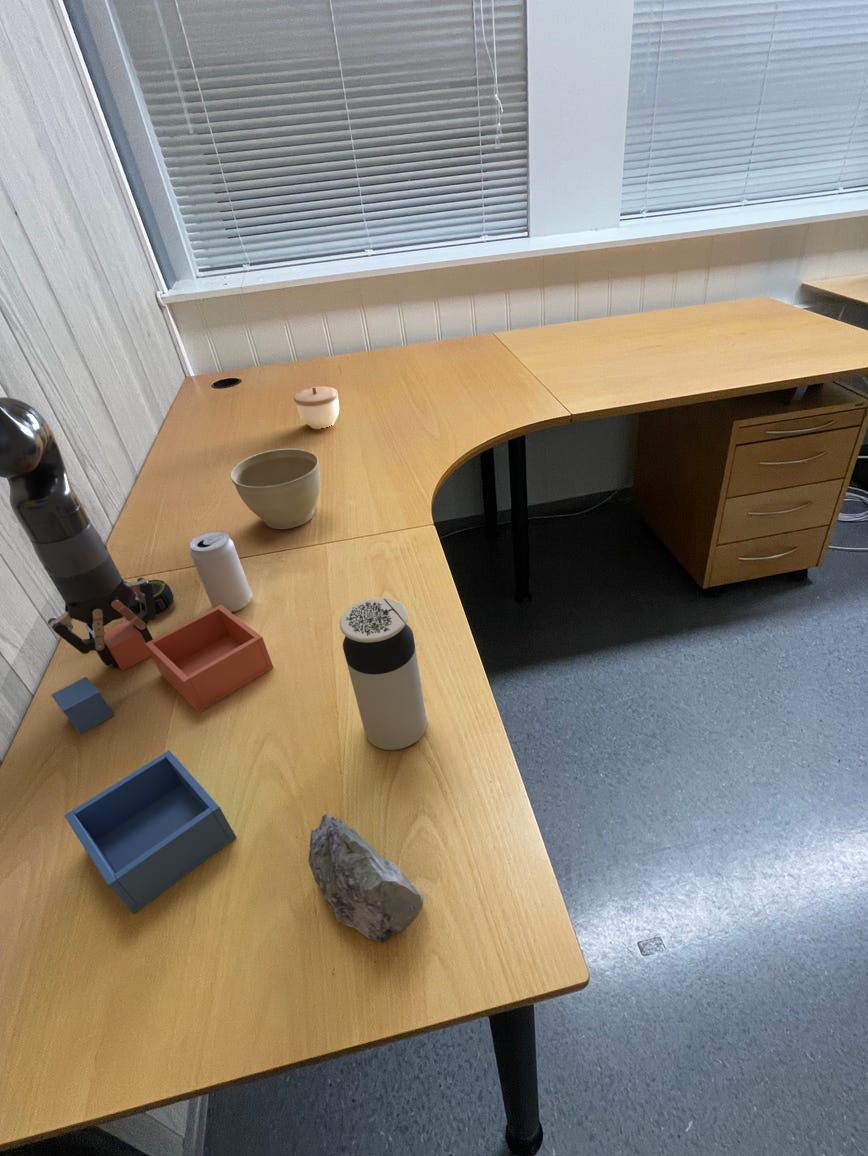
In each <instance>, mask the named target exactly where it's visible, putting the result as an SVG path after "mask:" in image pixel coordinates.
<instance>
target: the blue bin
mask: <svg viewBox="0 0 868 1156" xmlns="http://www.w3.org/2000/svg"><path fill="white" fill-rule="evenodd" d="M63 817H64V818H65V819H66V821H67V823H68V825H69V826H70V828H71V829H72V830H73V832H74V834H75V835H76V837H77V839H78V840H79V842H80V844H81V845H82V847H83V848H84V849H85V851H86V853H87V854H88V856H89V858H90V859H91V861H92V862H93V864H94V865H95V867H96V869H97V871H98V872H99V874H100V875H101V877H102V879H103V881H104V882H105V883H106V885H107V887H109V889H110V890H111V891H112V892H113V893H114V894H115V895H116V896H117V898H118V899H119V900H120V901H121V902H122V904H124V906H125V907H126V908H127V909H128V910H129V911H130V913H131V914H132V915H134V914H136V913H138V912H139V911H140V910H141V909H143V908H145V907H146V906H147V905H148V904H149V903H151V902H152V901H153V900H155V899H156V898H157V897H159V896H161V895H162V894H163V893H164V892H166V891H167V890H168V889H169V888H171V887H173V885H175V884H176V883H177V882H179V881H180V880H182V879H183V878H185V876H187V875H188V874H189V873H191V872H192V871H193V870H195V869H196V868H198V867H199V866H200V865H202V864H203V863H204V862H206V861H207V860H208V859H210V858H211V857H212V856H214V855H215V854H216V853H218V852H219V851H221V850H222V849H223V848H224V847H226V846H227V845H228V844H230V843H231V842H233V841H234V840H235V839H237V836H236V834H235V832H234V830H233V828H232V826H231V825H230V823H229V821H228V819H227V817H226V816H225V814H224V812H223V810H222V809H221V807H220V805H219V804H218V803H217V802H216V801H215V800H214V798H213V797H212V796H211V795H210V794H209V793H208V791H206V790H205V788H204V787H203V786H202V785H201V784H200V782H198V780H197V779H196V778H195V777H194V776H193V775H192V774H191V772H190V771H189V770H188V768H186V767H185V766H184V764H183V763H182V762H181V761H180V760H179V759H178V757H177V756H176V755H175V754H174V752H172V751H171V749H168V750H166V751H165V752H163V753H162V754H160V755H159V756H157V757H155V758H154V759H152V760H151V761H148V762H147V763H146V764H144V765H142V766H141V767H138V768H137V769H136V770H134V771H133V772H131V773H129V774H128V775H126V776H125V777H123V778H121V779H120V780H118V781H117V782H115V783H113V784H111V785H110V786H108V787H107V788H106V789H104V790H102V791H100V792H99V793H97V794H96V795H94V796H93V797H91V798H90V799H88V800H86V801H84V802H83V803H81V804H80V805H78V806H76V807H75V808H73V809H72V810H70V811H69V812H67V813H65V814H64V815H63Z"/></svg>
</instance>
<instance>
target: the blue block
mask: <svg viewBox="0 0 868 1156" xmlns="http://www.w3.org/2000/svg"><path fill="white" fill-rule="evenodd" d="M50 695H51V697H52V699H53V700H54V701H55V703H56V704H57V705H58V707H59V708H60V709H61V711H62V712H63V714H64V715H65V716H66V718H67V719H68V721H69V722H70V723H71V725H72V726H73V727H74V729H75V730H76V731H77V733H78V734H79V735H82V734H83V733H85V732H88V731H89V730H91V729H92V728H94V727H96V726H97V725H100V724H102V723H103V722H105V721H107V720H108V719H110V718H112V717H113V716H115V714H114V713H113V711H112V710H111V708H110V706H109V705H108V704H107V703H108V702H106V700H105V698H104V697H103V695H102V694H101V692H100V691H99V690H98V689H97V687H96V686H95V685H94V683H93V682H92V681H91V680H90V679H89V678H88V677H87V676H84V677H82V678H80V679H78V680H76V681H74V682H73V683H71V684H69V685H67V686H65V687H63V688H61V689H58V690H57V691H55V692H53V693H51V694H50Z"/></svg>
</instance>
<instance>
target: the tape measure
mask: <svg viewBox="0 0 868 1156" xmlns="http://www.w3.org/2000/svg"><path fill="white" fill-rule="evenodd" d="M147 581H148V582H149V583H150V584H152V586H153V594H154V602H155V610H156V616H157V615H160V614H161V613H164V612H165V611H167V610H168V609H170V607H171V606H172V605H173V603H174V597H175V596H174V592H173V590H172V589H171V587H170V586H169V585H168V584H169V583H166V582H165V581H164V580H161V579H149V580H147ZM128 608H129V609H130V610H131V611H132V612H134V613H135V614H136V615H138V614H139V613H140V612H141V609H140V602H139V596H137V595H136V594H135V593H134V591H132V593H131V597H130V600H129V604H128Z"/></svg>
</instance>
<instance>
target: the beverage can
mask: <svg viewBox="0 0 868 1156" xmlns="http://www.w3.org/2000/svg"><path fill="white" fill-rule="evenodd" d="M189 547H190V551H189V554H190V556H191V560H192V562H193V564H194V566H195V570H196V571H197V574H198V576H199V578H200V582H201V583H202V586H203V588H204V590H205V594H206V595H207V598H208V600H209V603H210V605H211V607H212V609H213V608H215V607H217V606H219V605H222V606H223V607H224V608H226V609H227V610H228V611H230V612H231V613H236V612H238V611H240V610H242V609H244V608H245V607H246V606H247V605H248V604H249V603H250V601H251V600H252V598H253V597H252V596H253V594H252V591H251V588H250V586H249V583H248V580H247V578H246V574H245V571H244V570H243V566H242V563H241V560H240V558H239V555H238V552H237V550H236V546H235V544H234V541H233V540H232V539H231V538H230V537H229V535H228V534H227V532H223V531H209V532H205V533H201V534H200V535H198V536H196V537H194V538H193V539H192V540H190V543H189Z"/></svg>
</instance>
